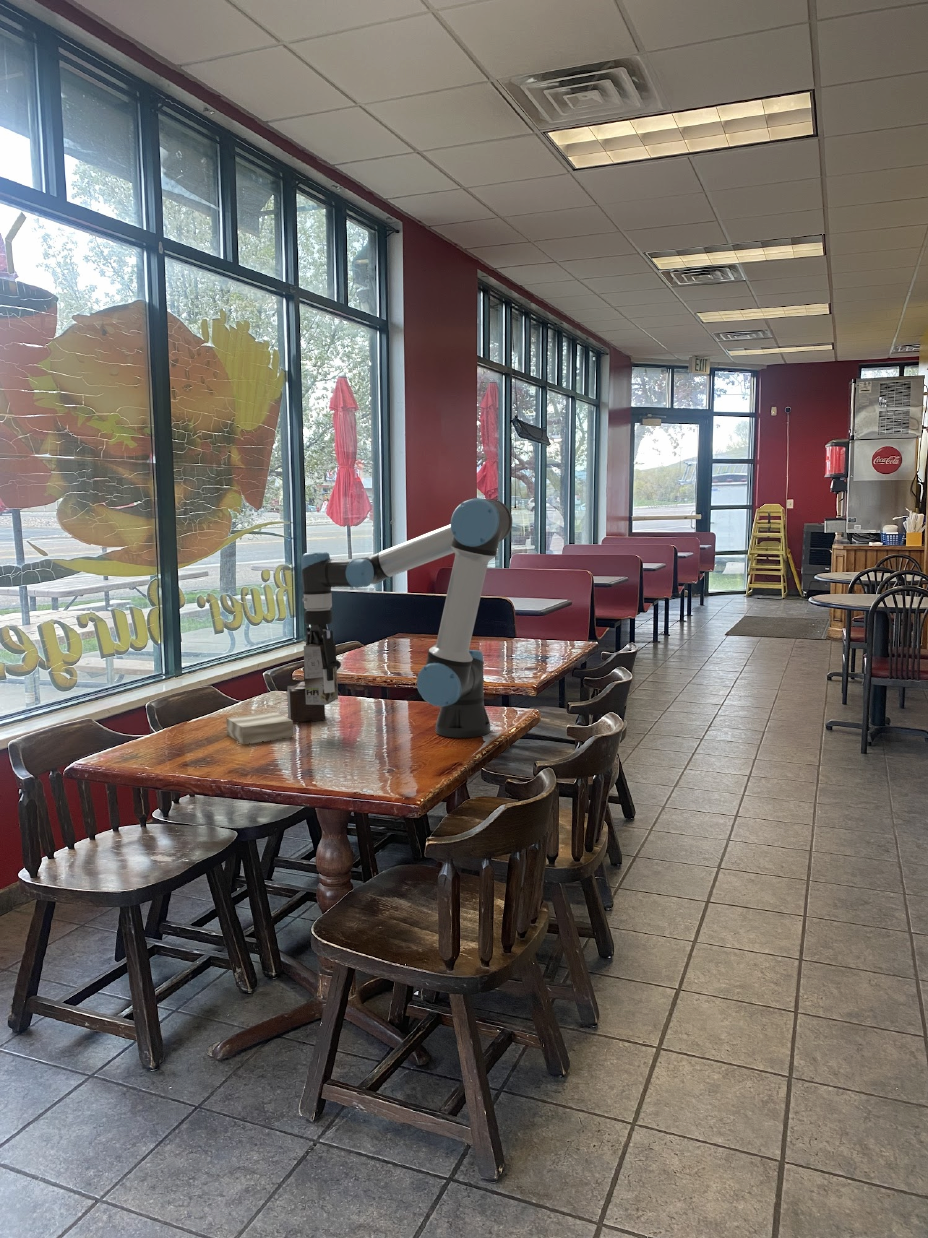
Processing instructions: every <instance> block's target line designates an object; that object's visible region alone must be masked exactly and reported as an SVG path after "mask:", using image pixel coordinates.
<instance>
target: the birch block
mask: <svg viewBox="0 0 928 1238" xmlns="http://www.w3.org/2000/svg"><path fill="white" fill-rule="evenodd" d="M226 734H227V735H228V736H229V737H230V738H231V739H233V740H235V741H237V742H238V741H239V742H238V743H240V744H242V745H248V744H249V743H250V744H256V743H257V744H258V743H263V742H262V741H264V742H271V741H276V739H278V740H282V739H281V738H285V739H288V738H287V737H292V736H293V737H294V723H293V720H290V719H289V718H288V717H287V716H284V715H283V714H280V713H278V712H276V711H272V712H265V713H264V712H263V713H255V714H249V715H239V716H232V717H226ZM293 737H292V738H293ZM270 740H271V741H270Z"/></svg>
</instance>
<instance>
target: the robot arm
mask: <svg viewBox="0 0 928 1238" xmlns="http://www.w3.org/2000/svg"><path fill="white" fill-rule="evenodd" d="M512 528H513V516H512V513H511V510H510V508H508V506H507V505H506V504H505V503H503V502H502V501H500V500H497V499H493V498H492V499H489V498H484V497H483V498H479V497H473V498H471V499H468V500H465V501H462V503H460V504H459V505H458V506H457V507H456V508H455V509H454V511H453V513H452V516H451V518H450V524H448V525H445V526H442V527H440V528H437V529H435V530H432V531H429V532H427V533H424V534H422V535H419V536H417V537H415V538H412V539H410V540H407V541H404V542H403V543H400V544H397V545H394V546H392V547H390V548H386V549H384V550H382V551H379V552H377V553H374V554H372V555H369V556H365V557H356V558H345V559H332V558H331V556H330V554H329V552H323V551H322V552H306V553H303V554H302V557H301V573H302V575H301V576H302V587H303V590H302V591H303V597H302V599H301V601H302V602H303V608H304V609H305V610H304V613H303V615H304V616H303V617H304V624H305V625H306V627H305V632H306V636H305V646H306V645H309V644H316V643H317V645H324V650H325V654H324V653H323V652H322V657H323V663H324V666H323V668H322V669H323V676H324V693H331V692H335V686H334V668H335V667H337V660H338V659H337V653H336V654H335V648H334V642H335V641H334V635H333V633H334V632H333V630H332V629H330V630H328V625H329V624H330V625H331V624H332V623H333V610H332V609H331V608H332V607H333V598H332V597H333V596H332V588H356V589H358V588H367V587H370V585H375V584H379V583H381V582H382V583H383V581H385V580H386V579H389V578H391V577H394V576H396V575H398V574H402V573H404V572H407V571H410V570H411V569H415V568H418V567H420V566H423V565H425V564H427V563H430V562H433V561H436V560H439V559H441V558H443V557H447V556H448V555H452V554H454V560H453V565H452V569H451V574H450V577H449V578H450V579H449V583H448V588H447V592H446V597H445V600H444V601H445V602H444V606H443V611H442V615H441V620H440V624H439V630H438V633H437V638H436V643H435V644H434V645H432V646H431V647H429V649H428V651H427V652H428V653H427V657H426V661H425V665H424V666H423V667H422V668H421V669H420V670H419V672H418V674H417V677H416V688H417V691H418V693H419V695H420V696H421V699H423V700H424V701H425V702H426V703H428V704H429V705H432V706H434V707H438V708H439V707H440V710H439V713H438V716H437V719H436V722H435V734H437V735H439V736H441V737H447V738H459V739H462V738H463V739H465V738H466V739H468V738H477V737H482V736H485V735H488V734H490V732H491V722H490V719H489V716H488V713H487V709H486V707H485V702H484V701H485V700H484V691H485V690H484V688H485V687H484V685H485V684H484V665H485V662H484V661H485V660H484V654H483V652H482V651H481V650H478V649H470V645H471V643H472V642H471V641H472V636H473V633H474V628H475V624H476V619H477V616H478V610H479V607H480V601H481V597H482V592H483V587H484V584H485V578H486V575H487V570H488V566H489V565H488V564H489V563H490V561H492V560H494V559H495V557H497V552H498V547H499V545H500V544H499V543H500V542H501V541H503V540H505V539H506V538H507V537H508V536H509V534H510V533H511V531H512ZM307 625H308V626H307Z"/></svg>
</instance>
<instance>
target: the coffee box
mask: <svg viewBox="0 0 928 1238" xmlns="http://www.w3.org/2000/svg"><path fill="white" fill-rule="evenodd" d="M333 642H334V648H335V654H336V655H337V645H336V641H333ZM322 652H323V653H324V654H325V650H324V645H317V643H316V644H309V645H306V644H305V645H304V646H303V662H304V663H303V664H304V667H303V668H304V669H305V692H306V704H307V705H325V706H328V705H330V704H331V703H333V702H335V701H336V700H338V699H339V689H338V687H339V685H338V670H337V667H335V668H334V686H335V692H331V693H324V676H323V669H322V668H323V666H324V663H323V657H322Z"/></svg>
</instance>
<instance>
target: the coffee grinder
mask: <svg viewBox="0 0 928 1238" xmlns="http://www.w3.org/2000/svg"><path fill="white" fill-rule="evenodd" d="M336 660H337V671H338V670H339V669H341V667H342V663H341V661H340V660H338V659H336ZM302 667H303V668H302V671H303V681H300V682H298V683H296V684H294V685H287V718H288V717H289V718H288V719H290V720H293V722H299V723H310V722H309V721H312V722H316V721H315V720H321V721H326V711H325V710H326V709H325V708H326V707H325V706H326V705H307V704H306V692H305V669H304V663H303V664H302Z"/></svg>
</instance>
